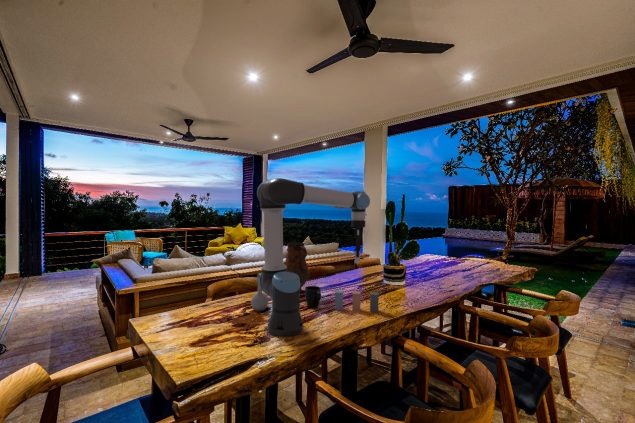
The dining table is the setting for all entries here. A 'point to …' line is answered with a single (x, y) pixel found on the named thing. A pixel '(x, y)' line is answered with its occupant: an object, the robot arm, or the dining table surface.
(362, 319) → the dining table surface
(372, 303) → the charcoal block
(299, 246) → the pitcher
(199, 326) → the dining table surface
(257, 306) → the potion bottle
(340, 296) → the slate block
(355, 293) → the terracotta block
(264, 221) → the robot arm
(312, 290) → the mug
